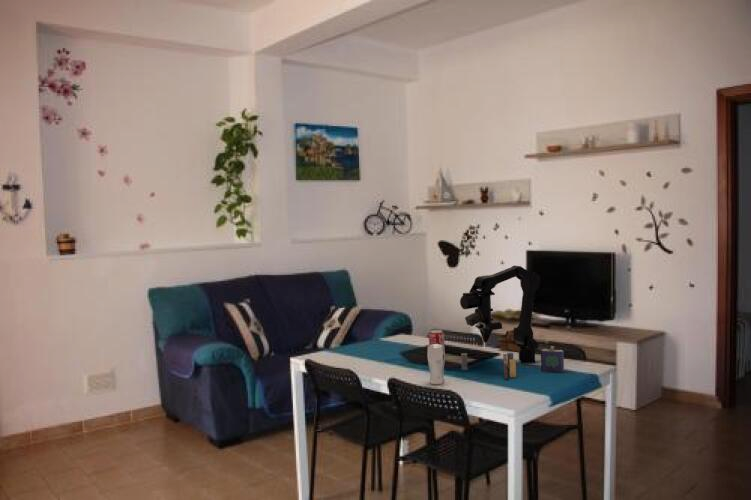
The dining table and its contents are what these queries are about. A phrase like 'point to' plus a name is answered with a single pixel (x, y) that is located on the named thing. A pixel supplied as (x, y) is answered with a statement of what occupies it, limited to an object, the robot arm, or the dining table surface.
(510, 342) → the wooden carving
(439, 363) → the beer glass
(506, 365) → the brown wooden plank
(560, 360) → the flask
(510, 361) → the frame
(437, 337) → the soda can
